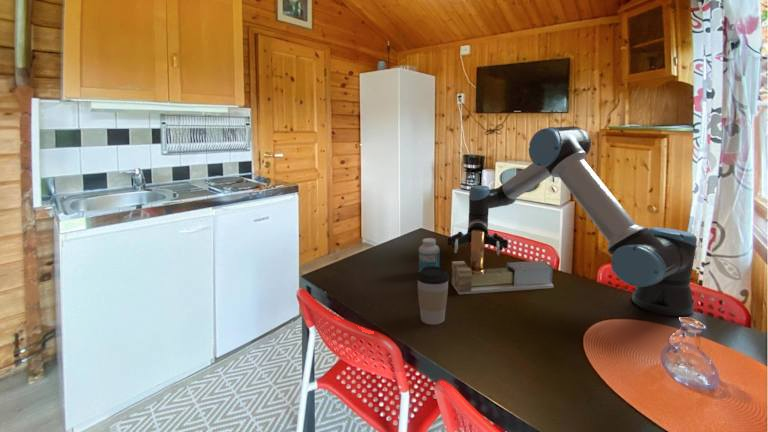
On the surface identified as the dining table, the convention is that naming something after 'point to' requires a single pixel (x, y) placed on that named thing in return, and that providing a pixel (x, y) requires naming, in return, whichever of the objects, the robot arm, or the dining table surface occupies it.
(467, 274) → the socket
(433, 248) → the pill bottle
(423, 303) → the coffee cup
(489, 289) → the bed
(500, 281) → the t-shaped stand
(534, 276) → the sleeve
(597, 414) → the dining table surface
